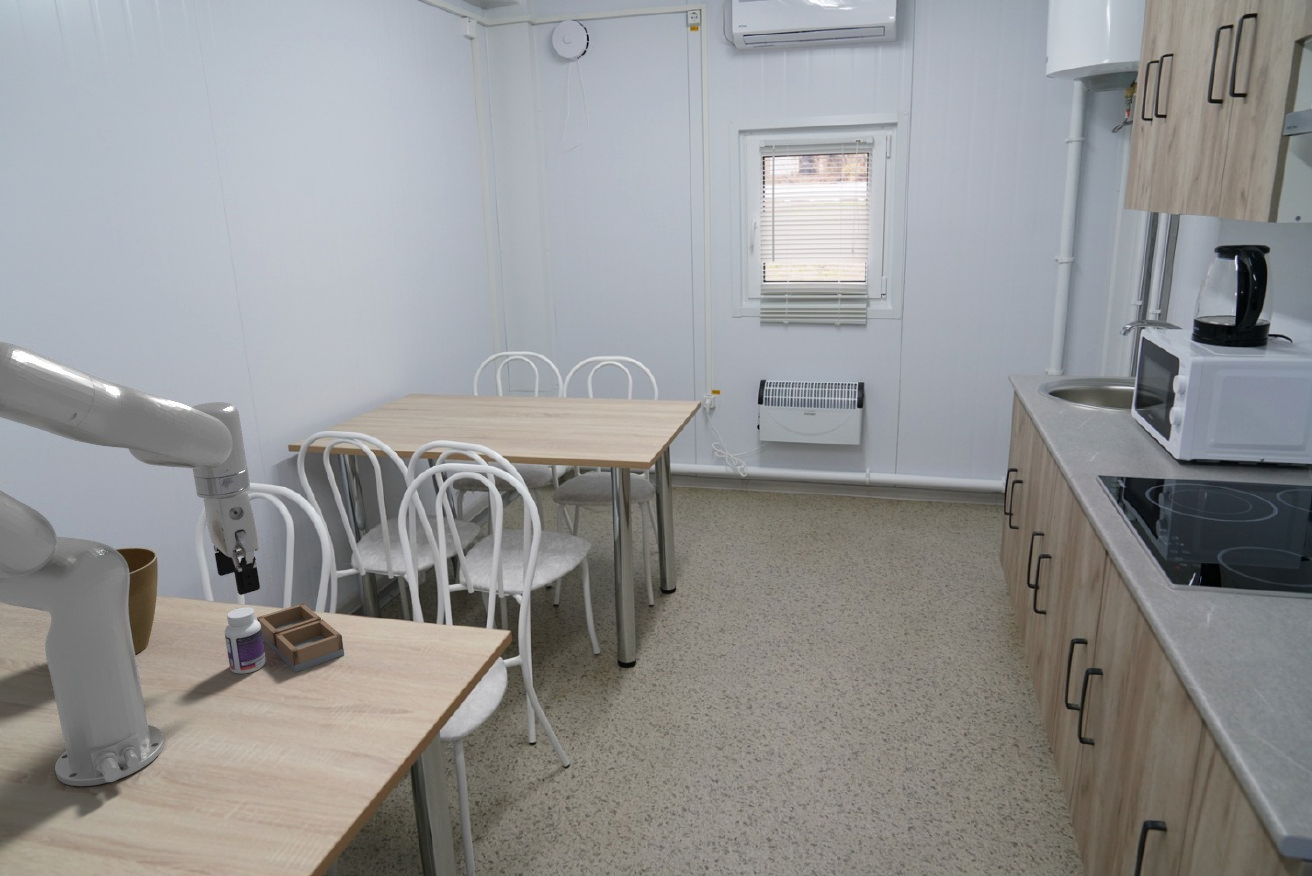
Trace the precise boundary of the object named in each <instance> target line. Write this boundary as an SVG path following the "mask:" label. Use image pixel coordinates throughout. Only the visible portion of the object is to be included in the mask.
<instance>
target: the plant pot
mask: <svg viewBox="0 0 1312 876" xmlns="http://www.w3.org/2000/svg"><path fill="white" fill-rule="evenodd" d="M114 549H115V548H114ZM115 550H117V551H118V552H119V553H120V554H121V555H122V556H123V557H124V559H125V560H126V562H127V565H128V568H129V574H130V584H129V597H128V609H129V621H130V628H131V634H132V640H133V645H134V651H135V655H136V654H139V653H141V652H142V651H144V650H145V649H146V648H147V647H148V646H149V641H150V638H151V635H152V634H151V633H152V629H153V624H154V619H155V613H156V606H157V595H158V582H159V581H158V579H159V578H158V576H159V574H158V569H159V567H158V566H159V565H158V553H157V552H156V551H155V550H153V549H152V548H151V549H150V548H146V547H145V548H144V547H123V548H116V549H115Z"/></svg>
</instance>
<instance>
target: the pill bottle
mask: <svg viewBox="0 0 1312 876" xmlns="http://www.w3.org/2000/svg"><path fill="white" fill-rule="evenodd" d="M226 617H227V623H228V625H227V626H226V627H225V630H224V639H225V645H226V651H227V657H228V664H229V668H230V671H231V672H232V673H234V674H238V675H241V674H251V673H253V672H256V671H258V670H260V669H261V668H263V667H264V666H265V664H266V660H267V659H266V653H265V652H266V651H265V646H264V641H263V638H262V631H261V625H260V623H259V622H258V621H257V619H256V615H255V609H254V608H252V607H239V608H235V609H233V610H231V611H230V612H228V613H227V615H226Z"/></svg>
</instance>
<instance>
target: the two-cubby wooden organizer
mask: <svg viewBox="0 0 1312 876" xmlns="http://www.w3.org/2000/svg"><path fill="white" fill-rule="evenodd" d="M256 620H257V621H258V622H259V623H260V625H261V631H262V638H263V643H265V644H266V645H267V646H268V647H269V648H270V649H271V650H272V651H273V652H274V653H275V654H276V655H277V656H278V657H279V658H280V659H281V660H282V661H283V662H284V663H285V664H286V665H288V667H289V668H290V669H291V670H292V671H293V672H294V673H298V672H301V671H303V670H306V669H310V668H312V667H314V666H318V665H320V664H324V663H325V662H330V661H332V660H334V659H337V658H340V657H343V656H345V650H344V643H343V635H342V634H341V633H340V632H339V631H337V630H336V629H335V628H334V627H333V626H331V625H330V624H329V623H328V622H326V621H325V620H324V619H322V618H321V616H319V615H318V614H317V613H316V612H314V611H313V610H312V609H311V608H309V607H308V606H307V605H306V604H305V603H300V604H297V605H293V606H291V607H288V608H287V607H286V608H284V609H280V610H277V611H274V612H271V613H267V614H264V615H261V616H257V617H256Z"/></svg>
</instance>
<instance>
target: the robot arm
mask: <svg viewBox="0 0 1312 876" xmlns="http://www.w3.org/2000/svg"><path fill="white" fill-rule="evenodd" d="M0 418H2V419H5V420H8V421H11V422H14V423H17V424H21V425H25V426H28V427H31V428H35V429H38V430H41V431H44V432H47V433H50V434H53V435H54V436H59V437H61V438H66V439H68V440H71V441H75V442H79V443H84V444H89V445H96V446H101V447H111V448H119V449H120V448H121V449H128V451H129V453H130V454H131V456H133V457H134V458H135V459H136V460H137V461H139V462H142V463H144V464H147V465H152V466H159V467H168V468H169V467H171V468H182V469H192V472H193V474H192V475H193V481H194V485H195V490H196V496H197V497H198V498H201V499H203V502H204V510H205V518H206V524H207V530H208V534H209V537H210V541H211V543H212V544H213V550H214V552H215V553H214V558H215V563H216V571H217V574H218V575H219V576H221V577H223V576H227V575H229V574H233V573H234V579H235V583H236V590H237V594H238V595H240V596H242V595H246V594H249V593H252V592H256V591H259V590H260V589H261V585H260V578H259V572H258V565H257V561H256V560H257V559H256V556H255V552H257V551H259V550H260V548H261V546H260V539H259V534H258V531H257V530H258V529H257V524H256V520H255V516H254V511H253V508H252V503H251V500H250V497H249V494H248V491H249V490H250V489H251V484H250V477H249V470H248V463H247V459H246V458H247V457H246V456H247V455H246V452H245V443H244V438H243V437H244V436H243V433H242V432H243V431H242V425H241V417H240V414H239V410H238V408H237V407H236V406H235V405H234V404H232V403H230V402H224V401H223V402H222V401H221V402H220V401H219V402H215V401H214V402H207V403H201V404H197V405H193V406H192V407H191V406H190V405H186V404H184V403H180V402H178V401H174V400H171V399H168V398H164V397H162V396H161V397H160V396H157V395H154V394H150V393H146V392H145V391H144V392H143V391H141V390H138V389H135V388H131V387H128V386H126V385H121V384H118V383H114V382H111V381H107V380H105V379H102V378H99V377H96V376H94V375H91V374H89V373H86V372H84V371H82V370H79V369H77V368H74V367H72V366H69V365H67V364H64V363H61V362H59V361H57V360H54V359H53V358H50V357H47V356H44V355H42V354H40V353H37V352H35V351H33V350H30V349H28V348H24V347H22V346H19V345H16V344H12V343H11V342H10V343H9V342H4V341H0ZM239 557H240V559H239ZM129 584H130V574H129V568H128V565H127V562H126V560H125V559H124V557H123V556H122V555H121V554H120V553H119V552H118V551H117V550H115V548H114V547H112V546H109V545H107V544H105V543H102V542H99V541H95V540H89V539H83V538H73V537H67V536H65V537H63V536H57V532H56V531H55V528H54V526H53V525H52V523H51V521H49V520H48V518H47V517H45V516H44V515H43V514H42V513H40V512H39V511H38V510H36V509H34V508H33V507H31V506H30V505H28V504H25V503H24V502H22V501H19V500H18V499H16V498H15V497H13V496H11V495H9V494H8V493H5V492H4V491H3V490H1V489H0V603H2V604H5V605H8V606H14V607H18V608H25V609H32V610H37V611H41V612H46V613H49V615H50V618H51V620H50V625H49V628H48V631H47V635H46V638H45V643H44V644H45V646H44V647H45V648H44V649H45V650H44V652H45V659H46V663H47V668H48V671H49V675H50V681H51V685H52V690H53V694H54V699H55V703H56V709H57V714H58V719H59V723H60V727H61V733H62V736H63V737H62V738H63V741H64V746H65V747H64V748H65V751H64V752H62V754H60V756H59V757H58V759H57V761H56V762H55V767H54V772H55V774H56V778H57V779H58V781H60V782H61V783H63V784H64V785H68V786H74V787H89V786H90V787H91V786H99V785H102V784H107V783H113V782H116V781H118V780H120V779H123V778H125V777H128V776H130V775H132V774H135V773H136V772H138V771H140V770H141V769H143V768H144V767H146V766H147V765H149V764H150V763H152V762H153V761H154V760H155V759H156V758H157V757H158V756H159V755H160V754H161V752H162V750H163V749H164V746H165V739H164V738H165V737H164V733H163V732H162V730H160V729H159V728H158V727H156V726H154V725H149V723H148V718H147V713H146V712H147V711H146V706H145V702H144V695H143V689H142V684H141V679H140V674H139V669H138V663H137V657H136V654H135V651H134V645H133V640H132V634H131V628H130V621H129V609H128V597H129Z"/></svg>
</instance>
